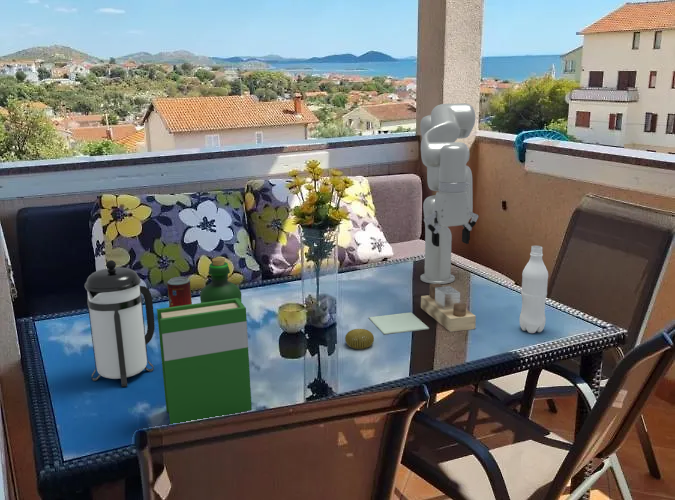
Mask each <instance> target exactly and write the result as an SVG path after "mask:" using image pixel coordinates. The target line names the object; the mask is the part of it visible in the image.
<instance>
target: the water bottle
mask: <svg viewBox="0 0 675 500" xmlns="http://www.w3.org/2000/svg"><path fill="white" fill-rule="evenodd" d="M530 249H531V250H530V253H529V255H530V257H529V260H528V262H527V263H526V265H525V266H524V268H523V270H522V272H521V273H522V274H521V277H522V279H521V291H520V294H521V300H522V301H521V310H520V314H519V326H520V328H521V330H522V331H527V333H530V334H535V333H536V332H537V333H541V332H543V330H544V328H545V325H546V319H547V318H546V310H545V307H546V306H545V305H546V299H547V295H548V284H549V282H548V281H549V271H548V269H547V267H546V265H545V262H544V260H543V256H544V254H543V252H544V251H543V246H540V245H531V248H530Z"/></svg>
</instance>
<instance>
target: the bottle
mask: <svg viewBox="0 0 675 500" xmlns="http://www.w3.org/2000/svg"><path fill="white" fill-rule="evenodd" d="M225 260H226V258H225V257H214V258H211V261H212V262H211V263H209V266H208V275H209V276H210V277H211V282H210V283H208V284H206V286H204V287H203V288H202V290H201V291H200V293H199V297H200V298H199V299H200V303H204V302H212V301H219V300H226V299H234V298H238V299H239V300H240V301H241V302H242V291H241V289H240V288H239V286H238V285H236V284H235V283H233V282H231V281H229V274H230V273H231V271H230V267H229V264H228V262H227V261H225Z"/></svg>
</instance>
